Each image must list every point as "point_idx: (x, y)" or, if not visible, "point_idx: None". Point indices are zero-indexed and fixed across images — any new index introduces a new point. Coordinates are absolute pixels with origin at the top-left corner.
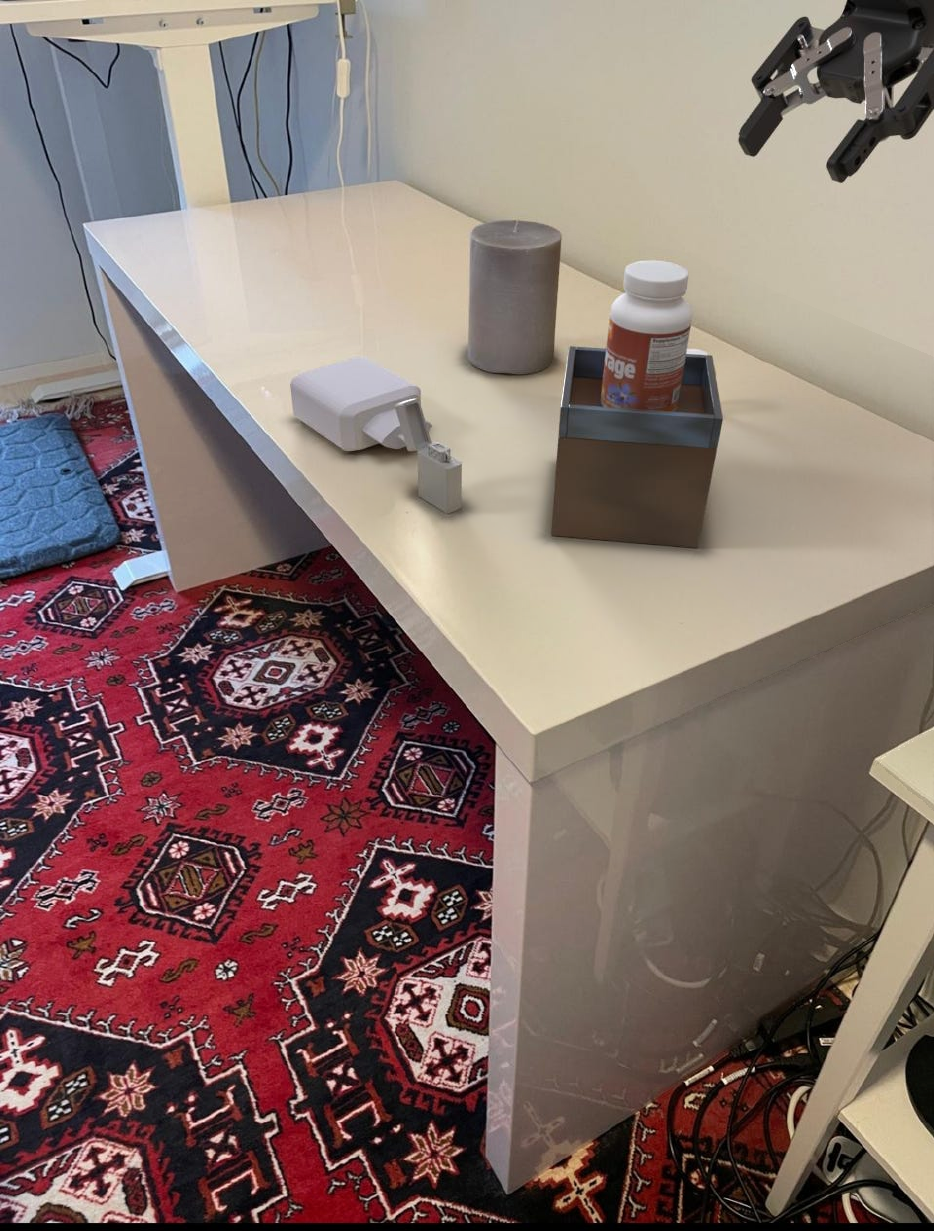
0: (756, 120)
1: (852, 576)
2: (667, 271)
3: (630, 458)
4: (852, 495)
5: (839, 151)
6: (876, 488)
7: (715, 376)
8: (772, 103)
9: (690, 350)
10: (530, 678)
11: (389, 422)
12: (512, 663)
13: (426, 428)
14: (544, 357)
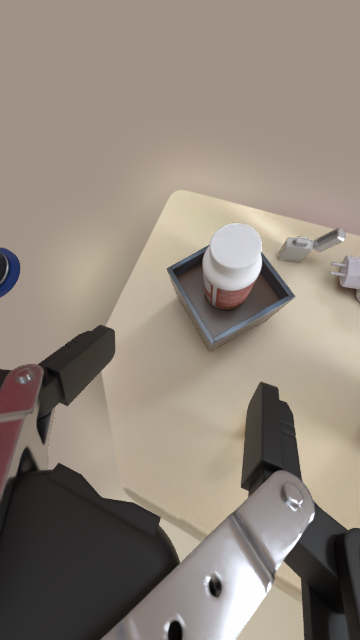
0: (265, 410)
1: (119, 318)
2: (227, 247)
3: None
4: (137, 385)
5: (93, 333)
6: (129, 400)
7: (194, 314)
8: (259, 452)
9: None
10: (187, 201)
11: (356, 262)
12: (196, 202)
13: (321, 245)
14: None
